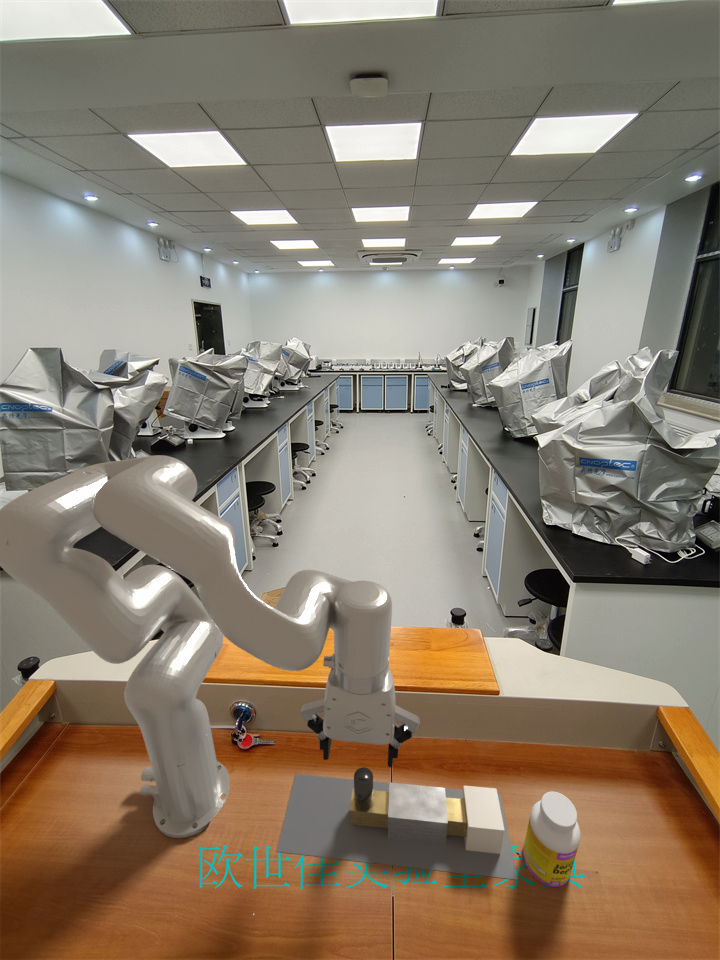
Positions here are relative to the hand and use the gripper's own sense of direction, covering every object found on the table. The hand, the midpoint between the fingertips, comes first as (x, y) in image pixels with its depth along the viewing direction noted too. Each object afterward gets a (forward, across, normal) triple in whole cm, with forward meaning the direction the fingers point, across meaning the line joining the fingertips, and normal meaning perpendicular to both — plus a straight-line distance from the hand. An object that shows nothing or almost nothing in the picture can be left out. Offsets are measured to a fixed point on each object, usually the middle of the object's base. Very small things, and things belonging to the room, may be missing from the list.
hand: (358, 754), depth 64 cm
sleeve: (+14, +10, 0) cm, 17 cm away
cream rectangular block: (+14, +20, 0) cm, 24 cm away
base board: (+16, +6, 0) cm, 17 cm away
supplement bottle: (+15, +29, -3) cm, 33 cm away
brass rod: (+14, +10, 0) cm, 18 cm away
